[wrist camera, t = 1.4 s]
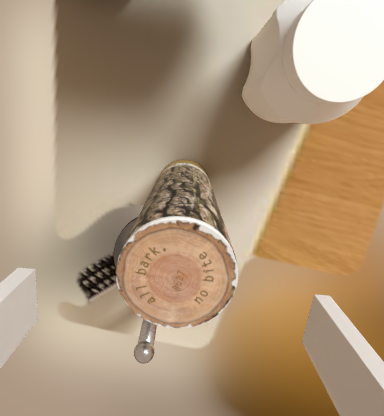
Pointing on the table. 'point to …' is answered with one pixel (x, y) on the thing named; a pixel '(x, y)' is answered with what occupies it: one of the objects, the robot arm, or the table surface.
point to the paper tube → (178, 252)
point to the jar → (315, 60)
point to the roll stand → (148, 330)
